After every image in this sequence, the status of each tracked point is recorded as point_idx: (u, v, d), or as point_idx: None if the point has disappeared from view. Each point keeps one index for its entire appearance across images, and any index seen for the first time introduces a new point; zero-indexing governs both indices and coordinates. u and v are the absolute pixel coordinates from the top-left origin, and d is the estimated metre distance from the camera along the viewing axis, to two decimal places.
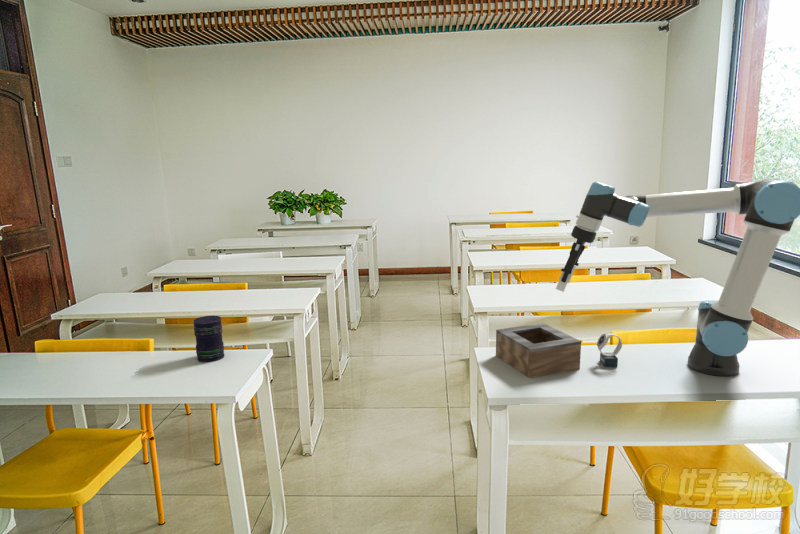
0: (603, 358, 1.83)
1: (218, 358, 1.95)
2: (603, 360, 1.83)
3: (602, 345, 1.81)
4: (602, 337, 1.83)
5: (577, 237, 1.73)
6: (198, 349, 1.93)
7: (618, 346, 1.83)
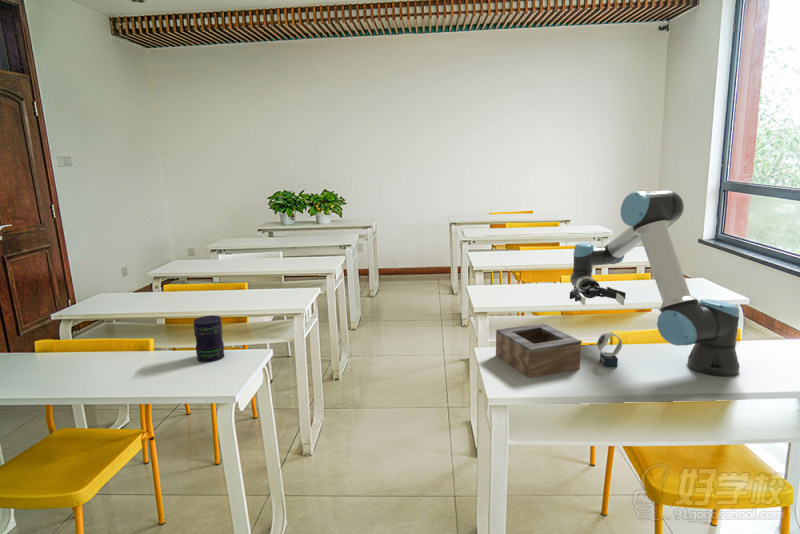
0: (603, 358, 1.83)
1: (218, 358, 1.95)
2: (603, 360, 1.83)
3: (602, 345, 1.81)
4: (602, 337, 1.83)
5: None
6: (198, 349, 1.93)
7: (618, 346, 1.83)
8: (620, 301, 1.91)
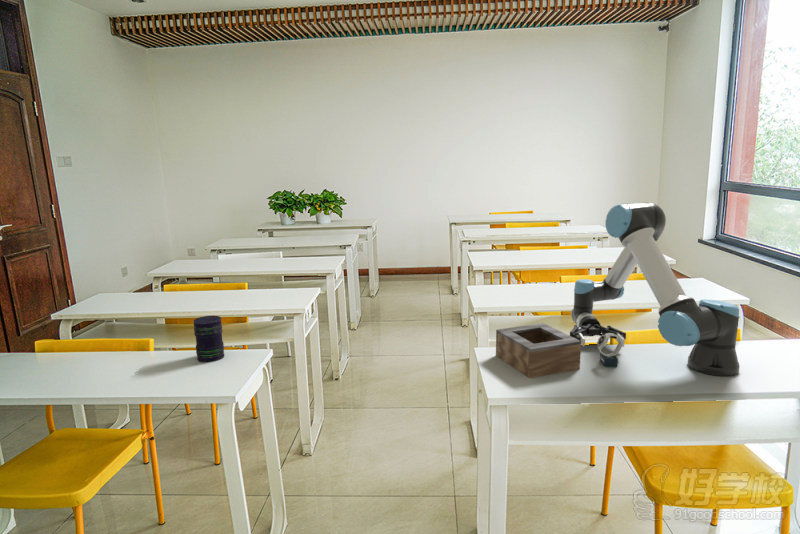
0: (603, 358, 1.83)
1: (218, 358, 1.95)
2: (603, 360, 1.83)
3: (602, 345, 1.81)
4: (602, 337, 1.83)
5: None
6: (198, 349, 1.93)
7: (618, 346, 1.83)
8: None
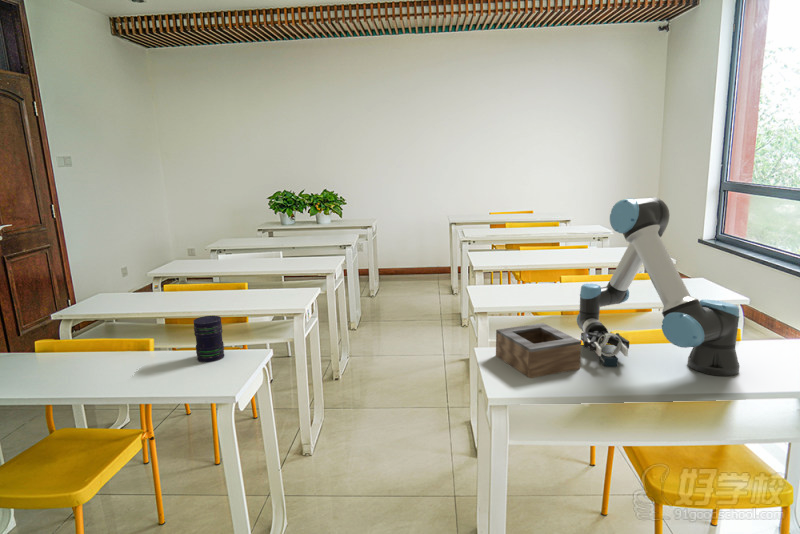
0: (603, 358, 1.83)
1: (218, 358, 1.95)
2: (603, 360, 1.83)
3: (602, 345, 1.81)
4: (602, 337, 1.83)
5: None
6: (198, 349, 1.93)
7: (618, 346, 1.83)
8: (623, 352, 1.80)
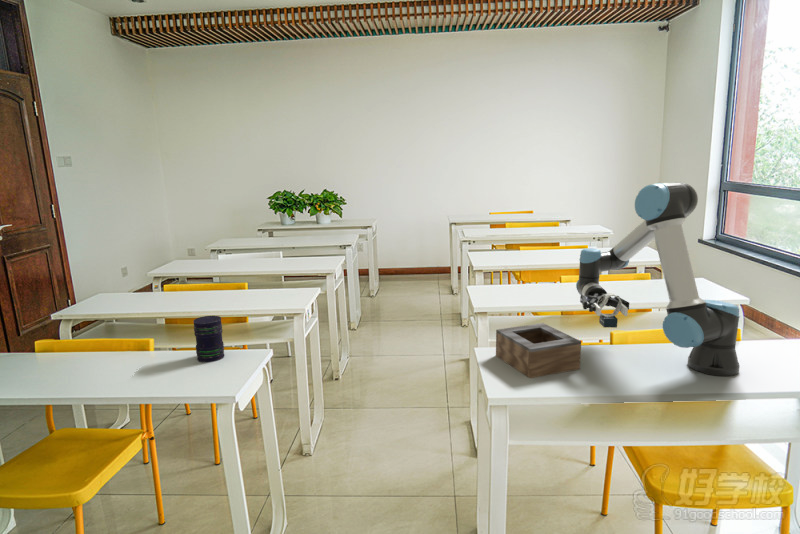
0: (602, 319, 1.81)
1: (218, 358, 1.95)
2: (602, 321, 1.80)
3: (601, 305, 1.79)
4: (602, 297, 1.81)
5: (587, 300, 1.96)
6: (198, 349, 1.93)
7: (618, 306, 1.80)
8: (623, 312, 1.77)
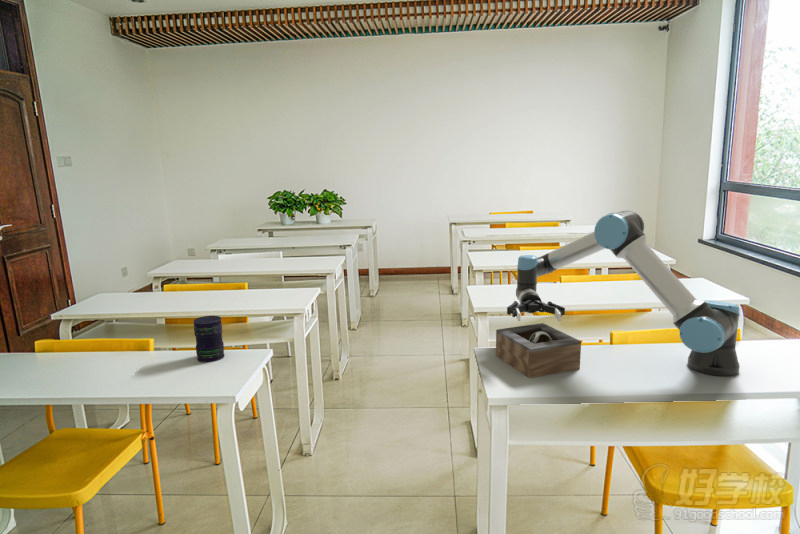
0: None
1: (218, 358, 1.95)
2: None
3: None
4: (533, 335, 1.86)
5: None
6: (198, 349, 1.93)
7: None
8: (557, 317, 1.82)
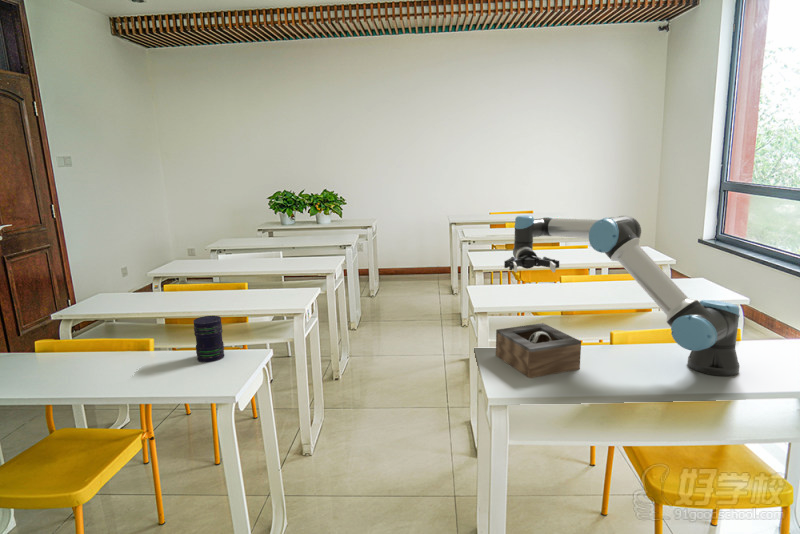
0: None
1: (218, 358, 1.95)
2: None
3: None
4: (533, 335, 1.86)
5: None
6: (198, 349, 1.93)
7: None
8: (552, 268, 1.91)
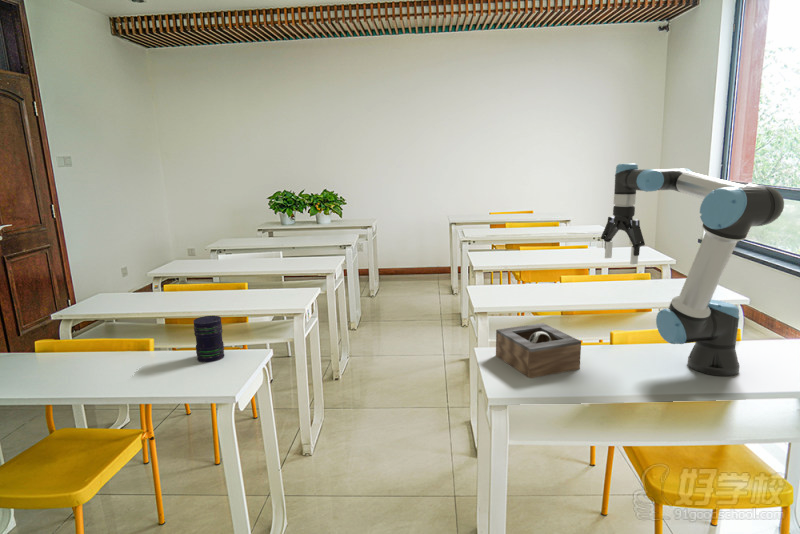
0: None
1: (218, 358, 1.95)
2: None
3: None
4: (533, 335, 1.86)
5: None
6: (198, 349, 1.93)
7: None
8: None
